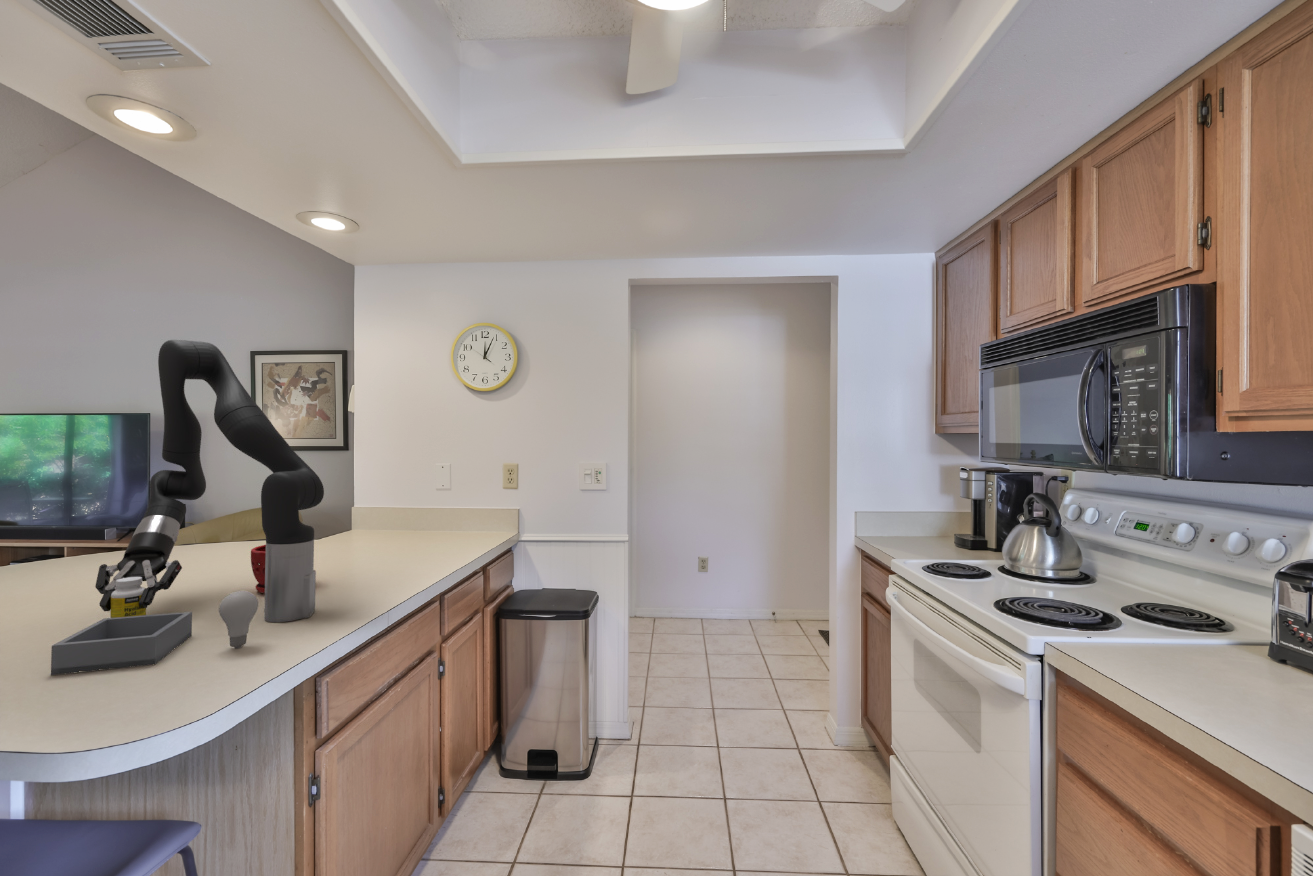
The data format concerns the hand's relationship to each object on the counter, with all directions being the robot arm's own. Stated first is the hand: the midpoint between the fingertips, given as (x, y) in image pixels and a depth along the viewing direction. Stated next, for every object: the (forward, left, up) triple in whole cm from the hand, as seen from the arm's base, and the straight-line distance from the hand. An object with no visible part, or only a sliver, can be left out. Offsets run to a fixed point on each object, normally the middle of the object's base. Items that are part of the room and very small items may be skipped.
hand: (124, 607), depth 113 cm
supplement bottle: (0, -2, -5) cm, 5 cm away
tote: (-7, +14, -5) cm, 17 cm away
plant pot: (-21, -28, -5) cm, 35 cm away
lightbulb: (-25, +17, -5) cm, 31 cm away
